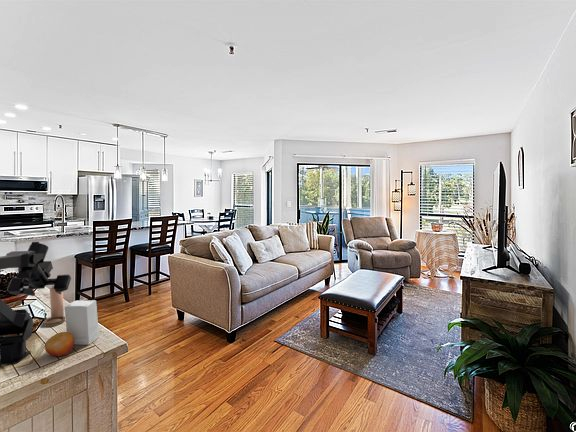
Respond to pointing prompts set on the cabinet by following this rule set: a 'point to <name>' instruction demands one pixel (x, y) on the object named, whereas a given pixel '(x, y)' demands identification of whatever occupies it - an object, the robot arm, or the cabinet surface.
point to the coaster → (54, 321)
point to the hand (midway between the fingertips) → (47, 294)
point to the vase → (56, 303)
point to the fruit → (60, 344)
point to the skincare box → (82, 321)
